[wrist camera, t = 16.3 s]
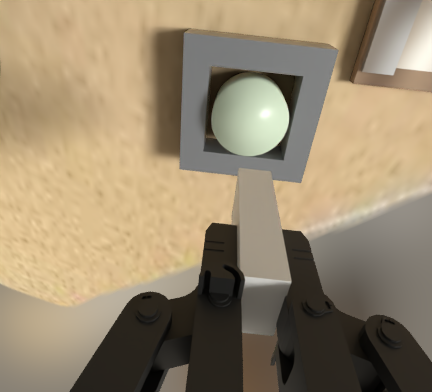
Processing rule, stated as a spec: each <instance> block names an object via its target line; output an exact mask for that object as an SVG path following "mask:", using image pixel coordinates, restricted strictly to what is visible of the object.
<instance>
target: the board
mask: <svg viewBox="0 0 432 392" xmlns="http://www.w3.org/2000/svg"><path fill="white" fill-rule="evenodd" d="M350 81H351V82H352V83H354V84H363V85H372V86H381V87H390V88H399V89H407V90H416V91H425V92H432V0H375V3H374V6H373V9H372V12H371V15H370V18H369V22H368V25H367V28H366V31H365V34H364V37H363V41H362V44H361V47H360V50H359V53H358V56H357V59H356V63H355V66H354V69H353V72H352V75H351V78H350Z"/></svg>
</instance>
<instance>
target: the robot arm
mask: <svg viewBox="0 0 432 392" xmlns="http://www.w3.org/2000/svg"><path fill="white" fill-rule="evenodd" d="M276 327H277V336H278V341H277V344H276V347H275V350H274V352H273V355H272V358H271V365H274V364H275V361H276V366H277V375H278V386H279V392H432V362H431V361H430V359H429V358H428V356H427V355H426V354H425V352H424V351H423V350H422V348H421V347H420V346H419V344H418V343H417V342H416V340H415V339H414V338H413V336H412V335H411V334H410V332H409V331H408V330H407V329H406V328H405V327H404V326H403V325H402V324H400V323H399V322H397V321H396V320H394V319H393V318H390V317H387V316H384V315H374V316H371V317H369V318H368V319H367V321H366V322H365V321H363V320H360V319H357V318H355V317H352V316H350V315H347V314H345V313H343V312H341V311H339V310H338V309H336V307H335V306H334V304H333V302H332V301H331V300H330V299H329V298H328V297H327V296H326V295H324V293H323V290H322V286H321V283H320V279H319V276H318V272H317V269H316V265H315V262H314V258H313V255H312V253H311V248H310V244H309V241H308V240H307V238H306V237H305V236H304V235H303V233H302V232H301V231H292V230H283V229H282V228H281V222H280V217H279V212H278V206H277V201H276V196H275V190H274V185H273V180H272V174H271V171H263V170H254V169H245V168H239V171H238V177H237V184H236V191H235V197H234V204H233V210H232V225H228V224H219V223H212V224H211V225H210V226H209V227H208V229H207V230H206V234H205V242H204V250H203V258H202V266H201V273H200V275H199V283H198V286H197V287H196V289H195V290H194V291H192V292H191V293H190V294H188V295H186V296H183V297H180V298H175V299H170V300H168V299H167V298H166V297H165V296H164V295H162V294H160V293H156V292H145V293H140V294H139V295H137V296H135V297H133V298H132V299H131V300H130V301H129V302H128V303H127V305H126V306H125V308H124V309H123V311H122V312H121V314H120V315H119V317H118V318H117V320H116V321H115V323H114V324H113V326H112V327H111V329H110V331H109V332H108V334H107V335H106V337H105V338H104V340H103V341H102V343H101V344H100V346H99V347H98V349H97V350H96V352H95V353H94V355H93V357H92V358H91V360H90V361H89V363H88V364H87V366H86V367H85V369H84V370H83V372H82V373H81V375H80V376H79V378H78V379H77V381H76V383H75V384H74V386H73V387H72V389H71V390H70V392H159V391H160V388H161V386H162V384H163V381H164V379H165V376H166V374H167V372H168V370H169V368H173V367H177V366H181V365H185V364H189V367H188V376H187V383H186V392H243V358H242V333H252V334H261V335H270V336H273V335H274V333H275V329H276Z"/></svg>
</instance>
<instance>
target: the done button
mask: <svg viewBox="0 0 432 392" xmlns="http://www.w3.org/2000/svg"><path fill="white" fill-rule="evenodd" d="M211 124H212V129H213V132H214V135H215V137H216V139H217V140H218V141H219V143H220V144H221V145H222V146H223V147H224V148H226V149H227V150H228V151H230V152H232V153H234V154H237V155H241V156H256V155H260V154H263V153H266V152H268V151H270V150H271V149H273V148H274V147H275V146H276V145H277V144H278V143H279V142H280V141H281V140H282V138H283V137H284V135H285V133H286V131H287V128H288V124H289V111H288V107H287V104H286V102H285V99H284V97H283V94H282V92H281V90H280V88H279V87H278V85H277V84H276V83H275V82H274V81H273V80H272V79H270V78H269V77H267V76H265V75H263V74H260V73H255V72H246V73H241V74H238V75H235V76H233V77H232V78H230V79H229V80H227V81H226V82H225V83H224V84H223V85H222V87H221V88H220V89H219V91H218V93H217V95H216V98H215V102H214V106H213V110H212V116H211Z"/></svg>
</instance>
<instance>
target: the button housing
mask: <svg viewBox="0 0 432 392" xmlns="http://www.w3.org/2000/svg"><path fill="white" fill-rule="evenodd" d="M337 54H338V49H336V48H334V47H333V46H331V45H329V44H323V43H314V42H305V41H296V40H287V39H278V38H269V37H261V36H252V35H243V34H234V33H225V32H216V31H207V30H198V29H188V30H187V31H186V32H184V45H183V76H182V108H181V139H180V169H182V170H191V171H200V172H209V173H217V174H226V175H235V176H238V171H239V168H245V169H254V170H263V171H271V174H272V180H279V181H288V182H297V183H301V181H302V178H303V174H304V171H305V167H306V163H307V160H308V156H309V153H310V149H311V146H312V142H313V139H314V135H315V132H316V128H317V125H318V121H319V118H320V114H321V110H322V107H323V103H324V100H325V96H326V93H327V89H328V86H329V82H330V79H331V75H332V72H333V68H334V65H335V61H336V58H337ZM212 66H216V67H225V68H234V69H243V70H252V71H260V72H269V73H278V74H287V75H296V76H295V81H294V85H293V90H292V94H291V99H290V103H289V108H288V111H289V124H288V128H287V131H286V133H285V135H284V137H283V138H282V140H281V144H280V146H275V147H274V148H273V149H271V150H270V151H268V152H266V153H263V154H260V155H256V156H241V155H237V154H234V153H232V152H230V151H228V150H227V149H226V148H224V147H223V146H222V145H221V144H220V143H219V141H218V140H217V139H211V138H206V135H207V123H208V111H209V98H210V86H211V73H212Z"/></svg>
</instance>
